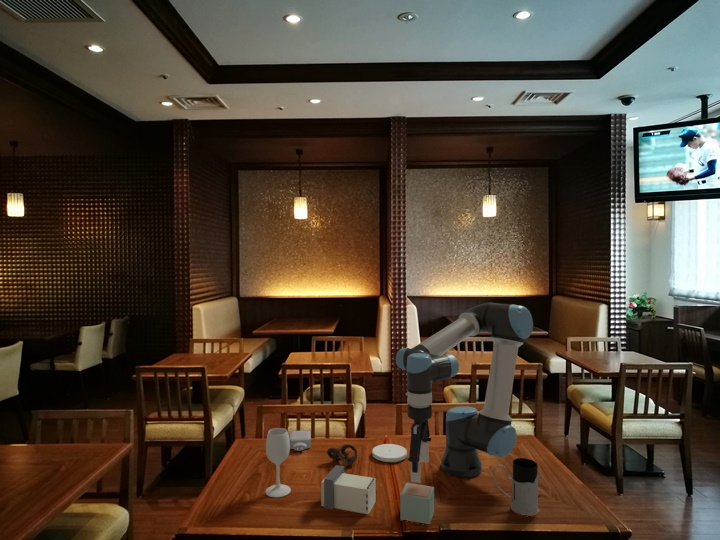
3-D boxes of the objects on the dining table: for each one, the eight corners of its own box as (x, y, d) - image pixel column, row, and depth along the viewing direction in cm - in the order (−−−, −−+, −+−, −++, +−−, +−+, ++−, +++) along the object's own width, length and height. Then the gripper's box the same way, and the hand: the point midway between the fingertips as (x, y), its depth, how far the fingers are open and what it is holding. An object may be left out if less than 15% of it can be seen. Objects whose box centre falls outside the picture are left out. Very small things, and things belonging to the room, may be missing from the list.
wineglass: (269, 500, 157) (269, 437, 157) (262, 488, 165) (261, 429, 164) (294, 494, 161) (294, 433, 161) (286, 483, 169) (285, 425, 168)
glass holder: (541, 517, 147) (542, 470, 146) (494, 513, 149) (495, 466, 149) (536, 503, 155) (536, 458, 155) (491, 499, 158) (492, 455, 157)
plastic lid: (410, 463, 186) (410, 457, 186) (375, 465, 184) (375, 459, 184) (402, 448, 200) (402, 443, 199) (369, 450, 197) (369, 444, 197)
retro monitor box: (433, 511, 150) (434, 486, 149) (429, 525, 142) (429, 498, 142) (406, 506, 153) (406, 482, 152) (400, 520, 145) (400, 493, 145)
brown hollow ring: (354, 457, 192) (359, 443, 188) (353, 477, 183) (358, 463, 179) (325, 451, 191) (330, 437, 187) (323, 470, 182) (328, 456, 178)
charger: (288, 456, 192) (289, 441, 207) (311, 455, 193) (310, 440, 208) (288, 444, 192) (289, 431, 207) (310, 443, 193) (310, 430, 208)
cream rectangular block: (376, 500, 157) (376, 471, 157) (367, 516, 147) (367, 485, 147) (332, 492, 162) (332, 464, 162) (319, 507, 152) (319, 478, 152)
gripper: (415, 391, 159) (416, 453, 160) (397, 416, 135) (398, 489, 136) (438, 393, 157) (438, 455, 158) (423, 419, 133) (424, 492, 134)
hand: (420, 471), depth 147 cm, fingers open, 13 cm apart
